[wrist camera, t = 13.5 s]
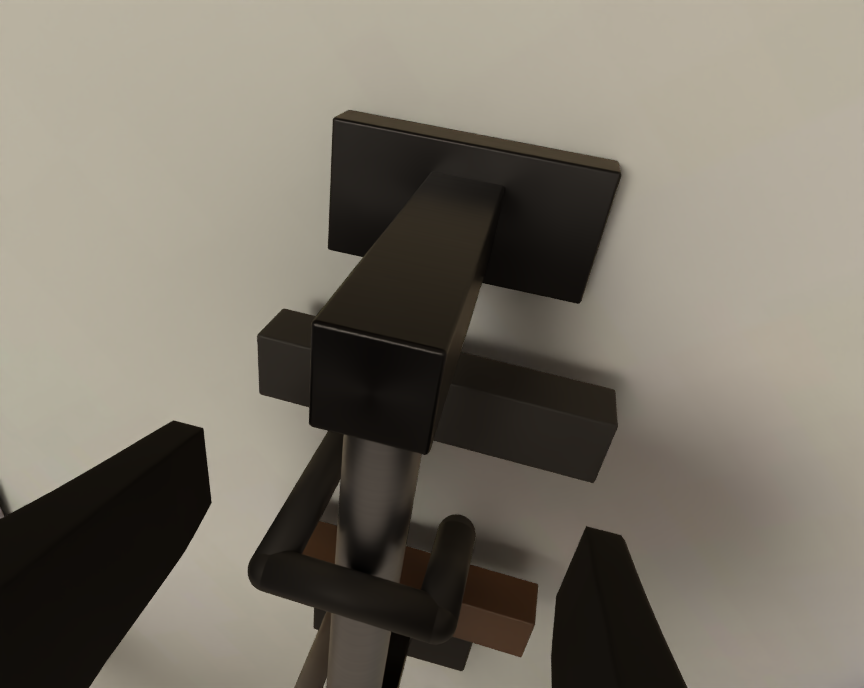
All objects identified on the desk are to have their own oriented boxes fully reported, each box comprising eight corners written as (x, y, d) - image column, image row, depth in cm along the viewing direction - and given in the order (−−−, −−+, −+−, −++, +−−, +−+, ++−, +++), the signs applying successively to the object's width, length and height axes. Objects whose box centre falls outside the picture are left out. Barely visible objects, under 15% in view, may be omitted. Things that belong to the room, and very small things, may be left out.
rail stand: (322, 606, 23) (226, 840, 16) (347, 109, 13) (120, 222, 6) (467, 647, 22) (426, 907, 16) (619, 160, 12) (674, 345, 6)
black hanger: (283, 364, 15) (110, 571, 10) (283, 307, 14) (91, 500, 9) (593, 444, 14) (596, 726, 9) (615, 389, 13) (635, 665, 8)
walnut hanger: (284, 545, 19) (163, 762, 14) (283, 509, 18) (154, 728, 13) (525, 616, 18) (499, 881, 13) (538, 583, 17) (516, 854, 12)
